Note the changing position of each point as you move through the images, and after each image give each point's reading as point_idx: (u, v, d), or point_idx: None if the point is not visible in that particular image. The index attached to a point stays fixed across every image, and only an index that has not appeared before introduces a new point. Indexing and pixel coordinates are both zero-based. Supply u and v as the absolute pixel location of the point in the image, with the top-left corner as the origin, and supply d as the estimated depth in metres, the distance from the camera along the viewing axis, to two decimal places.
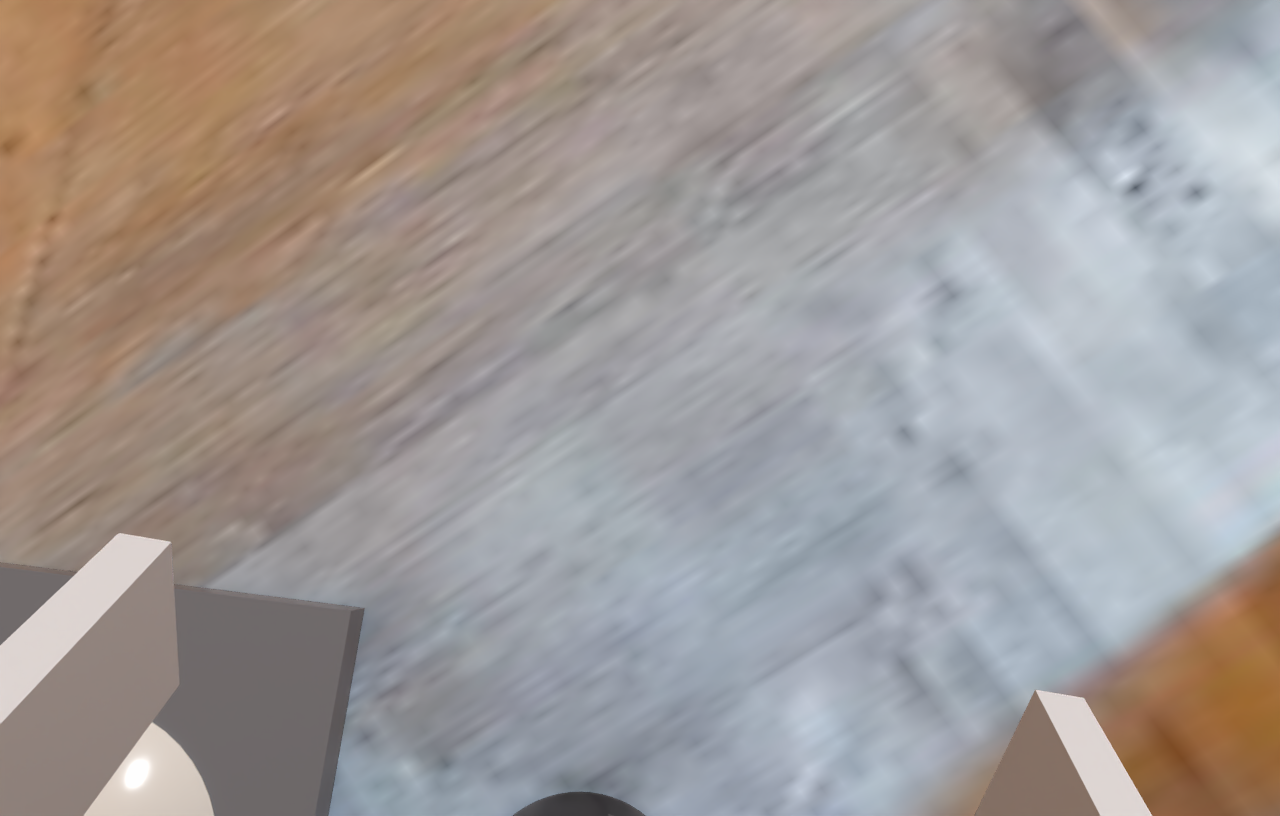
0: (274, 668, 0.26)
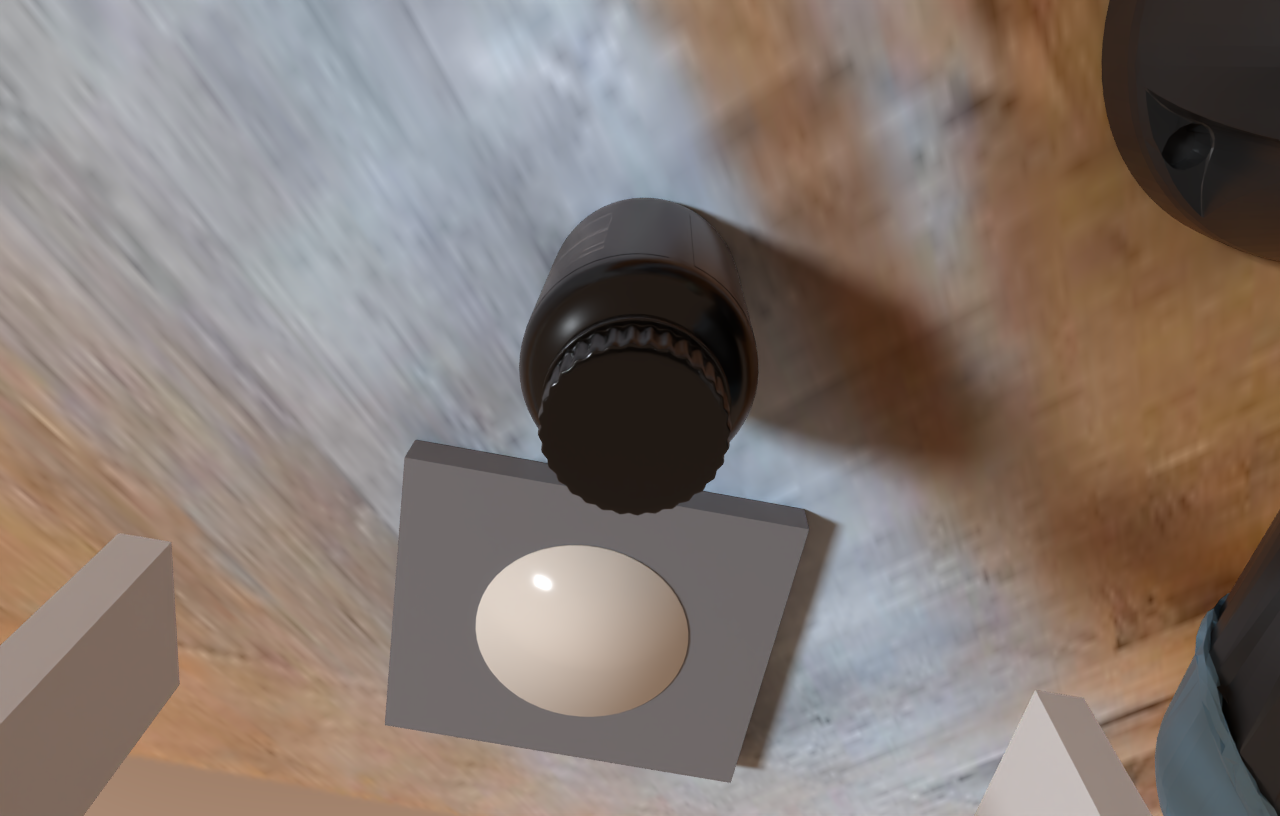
0: (450, 509, 0.35)
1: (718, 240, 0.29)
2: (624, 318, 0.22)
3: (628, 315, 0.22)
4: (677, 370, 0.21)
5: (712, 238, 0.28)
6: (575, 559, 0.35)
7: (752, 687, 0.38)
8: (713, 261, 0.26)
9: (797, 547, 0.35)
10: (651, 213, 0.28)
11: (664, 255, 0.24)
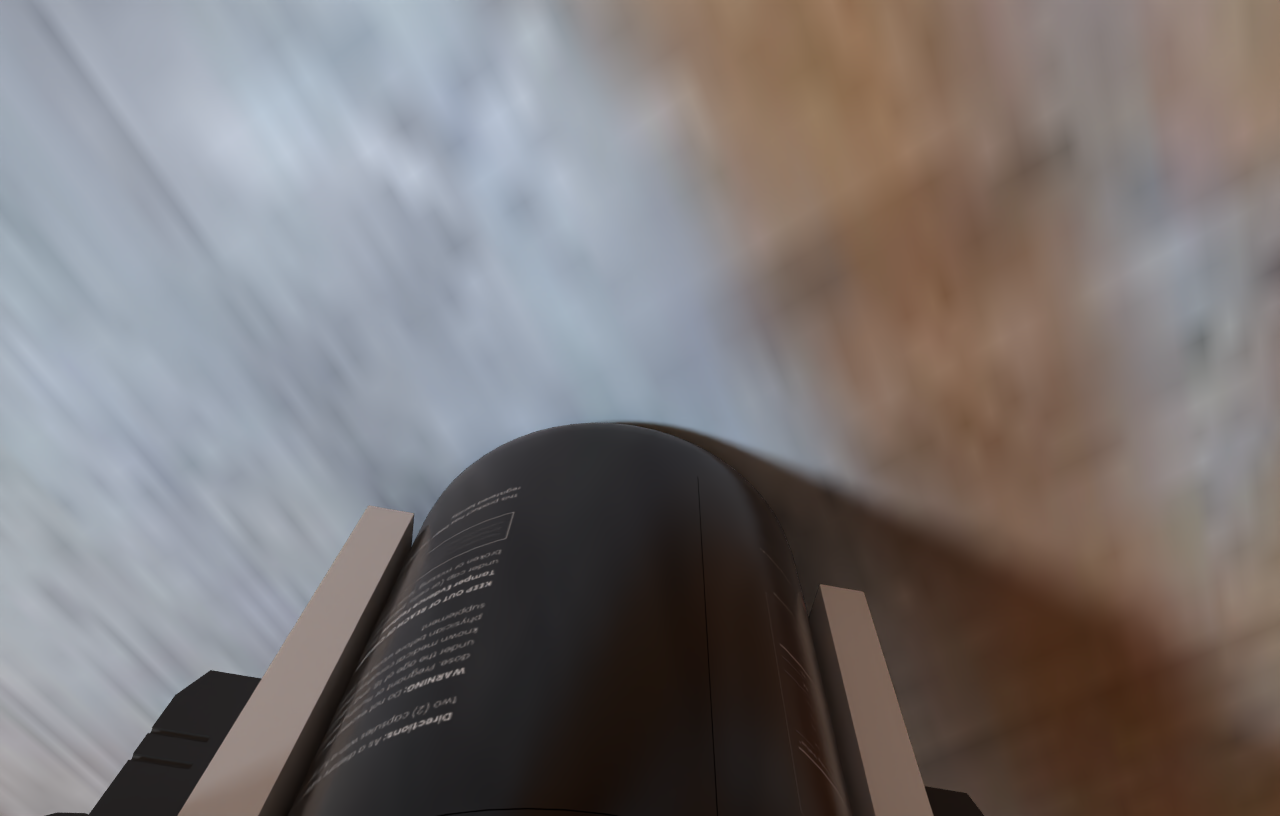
0: None
1: (762, 539, 0.13)
2: None
3: None
4: None
5: (751, 552, 0.12)
6: None
7: None
8: (765, 708, 0.09)
9: None
10: (607, 506, 0.12)
11: (624, 808, 0.07)
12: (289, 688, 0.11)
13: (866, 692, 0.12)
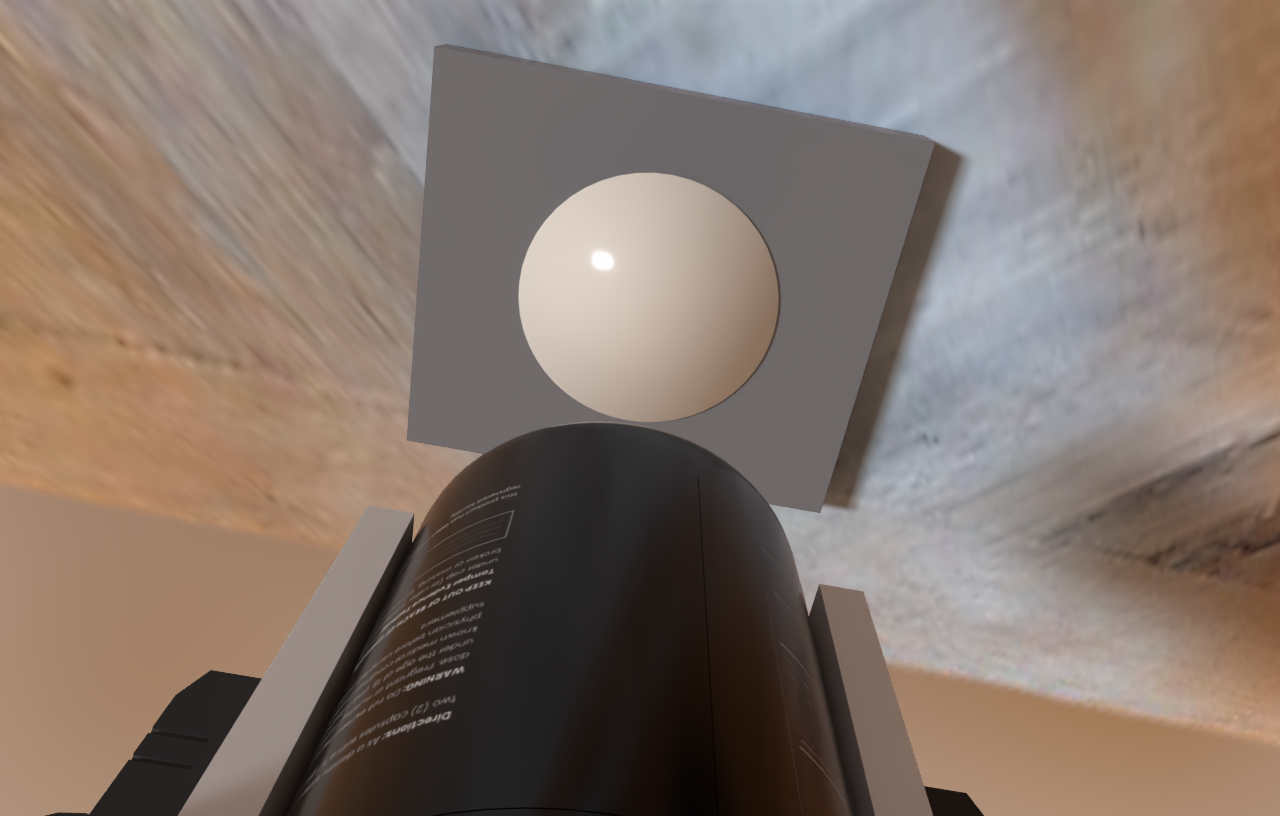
0: (490, 123, 0.28)
1: (762, 538, 0.13)
2: None
3: None
4: None
5: (751, 551, 0.12)
6: (643, 193, 0.29)
7: (853, 376, 0.31)
8: (766, 707, 0.09)
9: (919, 169, 0.28)
10: (607, 504, 0.12)
11: (623, 806, 0.07)
12: (289, 688, 0.11)
13: (865, 692, 0.12)
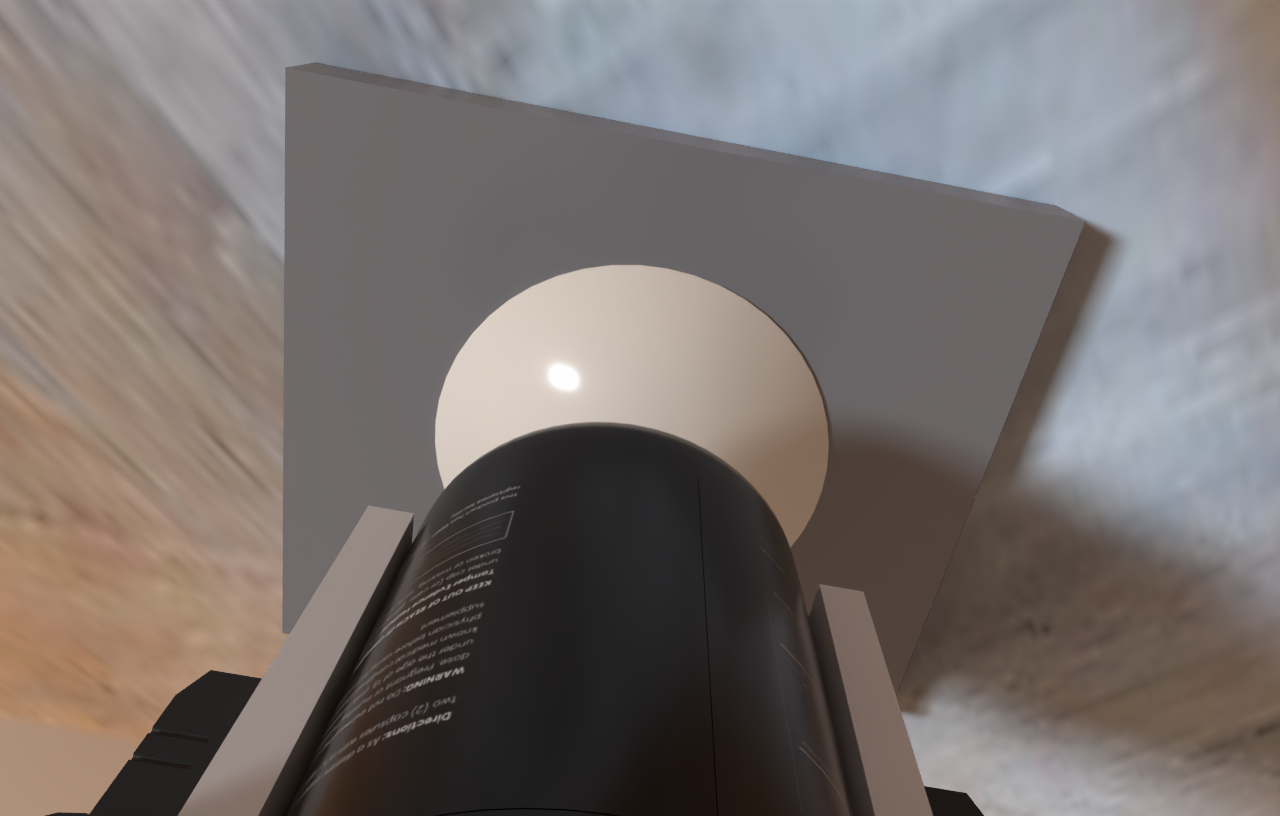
0: (380, 188, 0.18)
1: (762, 539, 0.13)
2: None
3: None
4: None
5: (751, 551, 0.12)
6: (622, 295, 0.18)
7: (936, 557, 0.21)
8: (765, 707, 0.09)
9: (1056, 263, 0.18)
10: (607, 505, 0.12)
11: (623, 807, 0.07)
12: (289, 688, 0.11)
13: (866, 692, 0.12)
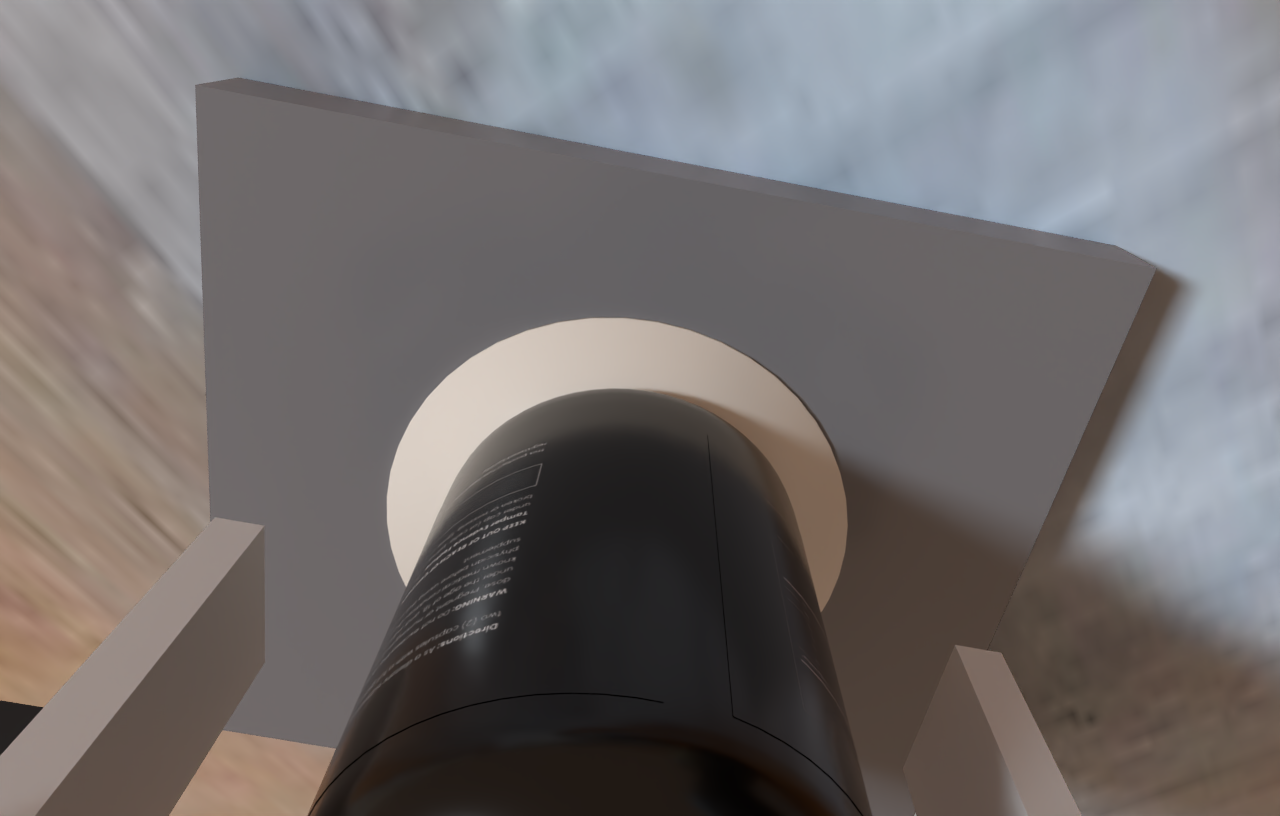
0: (314, 227, 0.15)
1: (766, 492, 0.14)
2: None
3: None
4: None
5: (756, 501, 0.13)
6: (604, 353, 0.16)
7: None
8: (771, 625, 0.11)
9: (1120, 316, 0.15)
10: (626, 457, 0.13)
11: (652, 692, 0.09)
12: (68, 723, 0.10)
13: (1030, 772, 0.12)
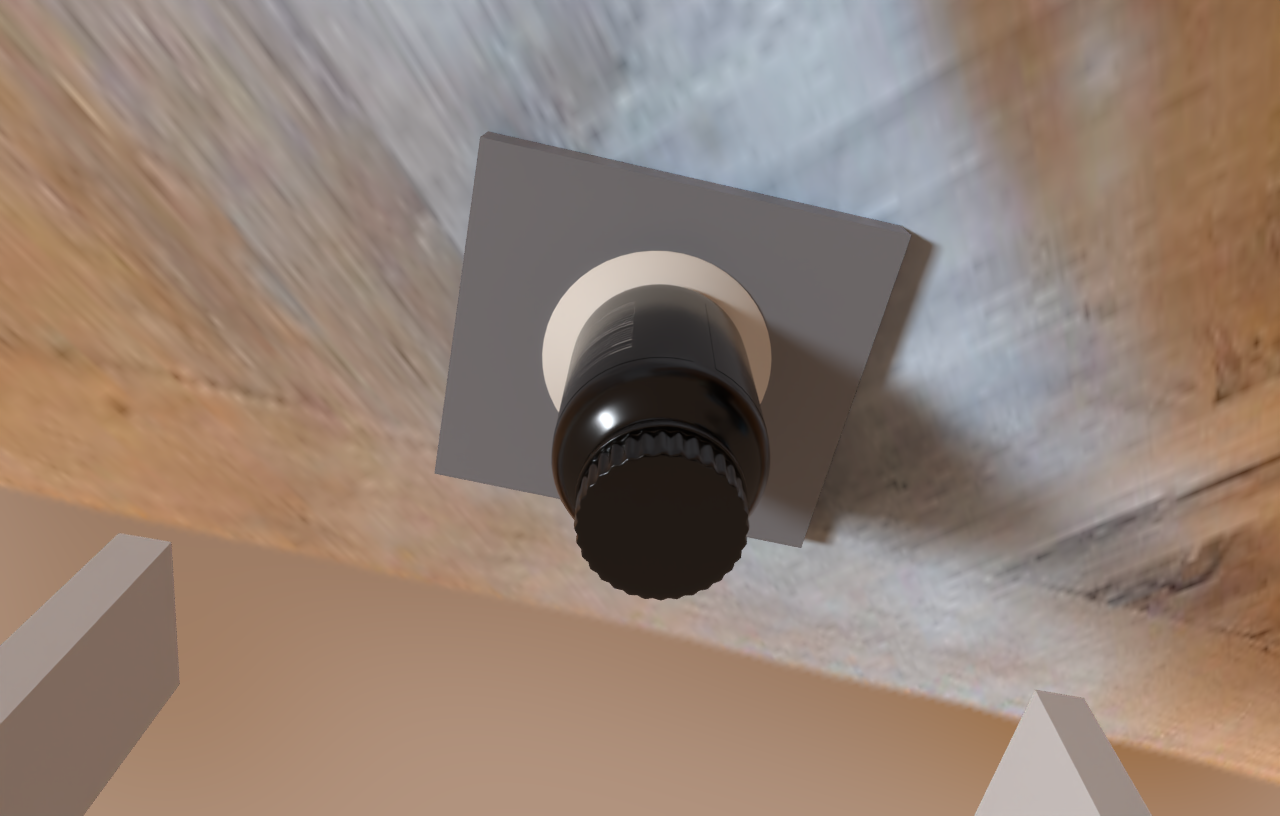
0: (525, 203, 0.32)
1: (731, 328, 0.32)
2: (655, 424, 0.24)
3: (658, 420, 0.24)
4: (704, 476, 0.23)
5: (726, 328, 0.31)
6: (657, 268, 0.33)
7: (834, 430, 0.36)
8: (730, 358, 0.28)
9: (897, 257, 0.33)
10: (671, 305, 0.30)
11: (688, 359, 0.26)
12: None
13: None
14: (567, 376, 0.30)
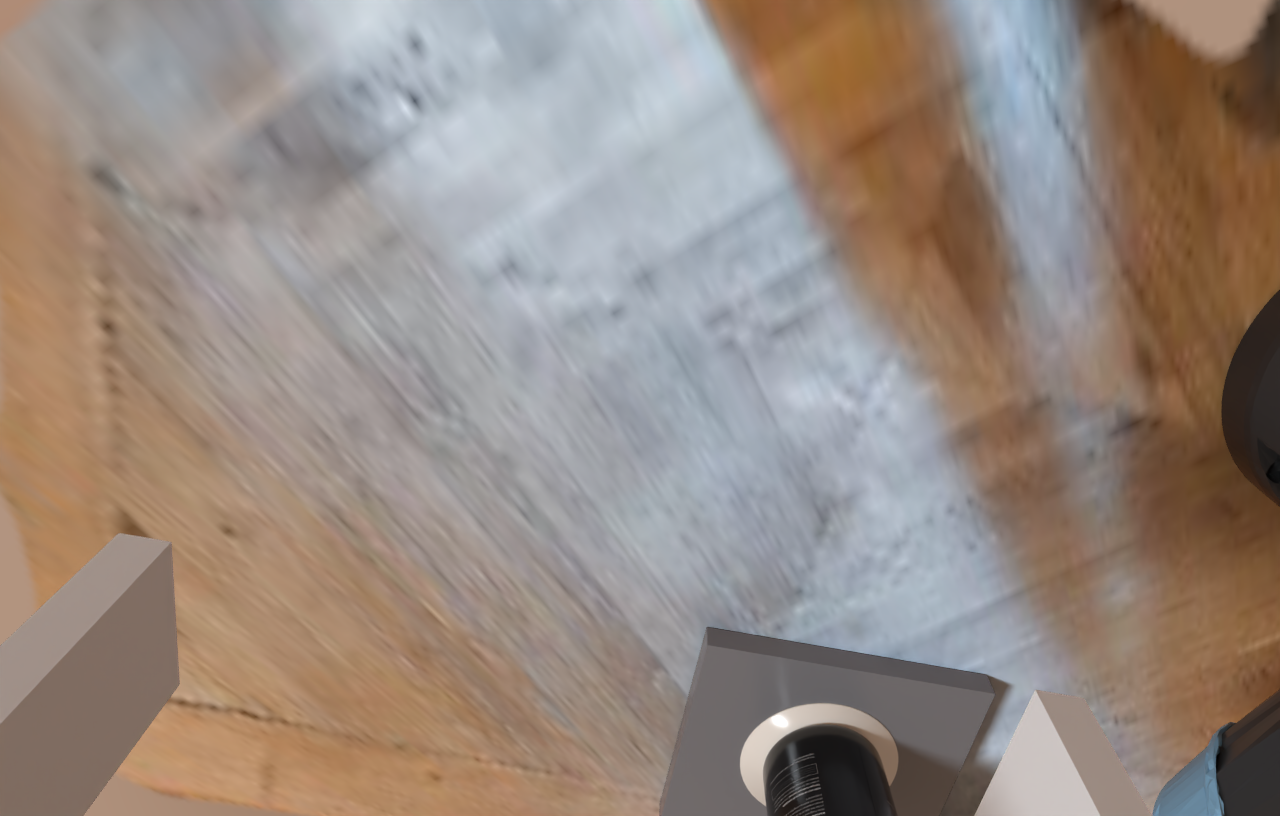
0: (734, 678, 0.48)
1: (877, 765, 0.47)
2: None
3: None
4: None
5: (875, 772, 0.47)
6: (822, 713, 0.49)
7: (940, 799, 0.51)
8: None
9: (985, 705, 0.48)
10: (840, 762, 0.46)
11: None
12: None
13: None
14: (772, 809, 0.46)
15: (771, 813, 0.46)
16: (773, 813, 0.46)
